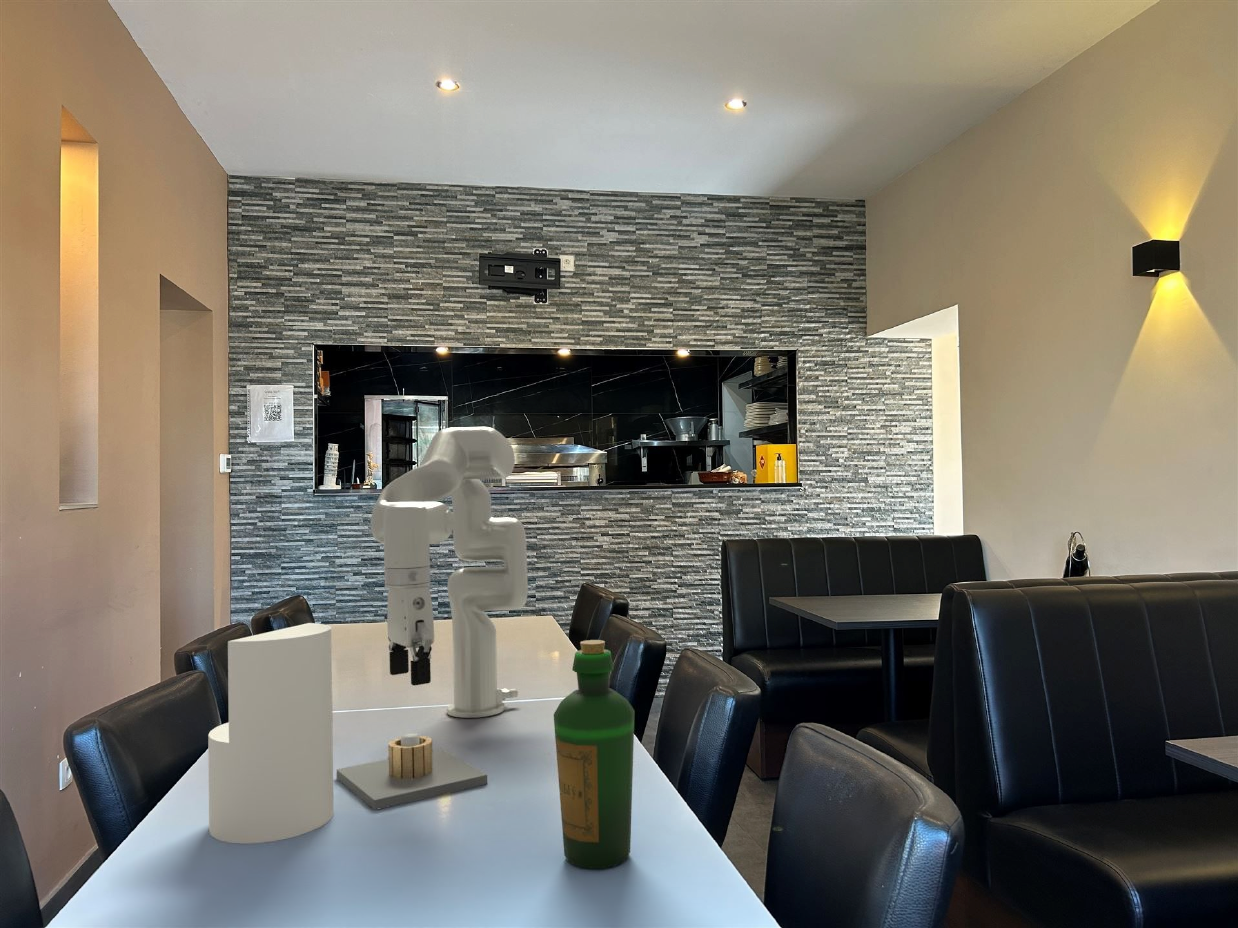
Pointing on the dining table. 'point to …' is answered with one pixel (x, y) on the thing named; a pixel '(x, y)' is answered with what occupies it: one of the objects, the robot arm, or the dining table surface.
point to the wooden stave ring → (410, 759)
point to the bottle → (595, 763)
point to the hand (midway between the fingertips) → (409, 678)
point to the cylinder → (274, 738)
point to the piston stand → (389, 791)
